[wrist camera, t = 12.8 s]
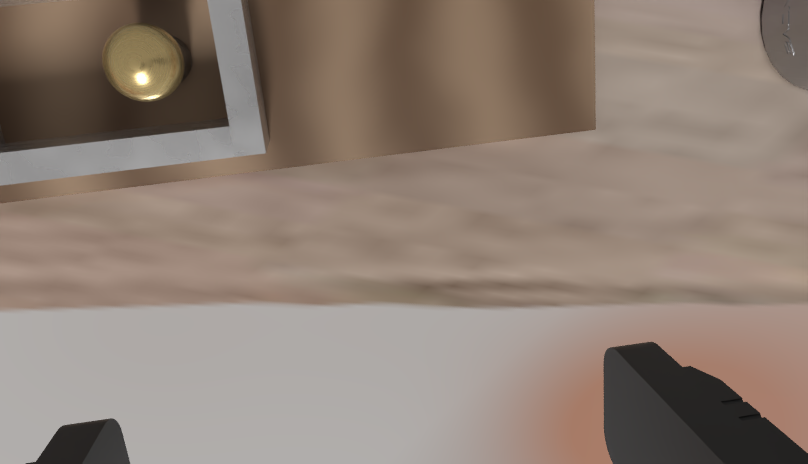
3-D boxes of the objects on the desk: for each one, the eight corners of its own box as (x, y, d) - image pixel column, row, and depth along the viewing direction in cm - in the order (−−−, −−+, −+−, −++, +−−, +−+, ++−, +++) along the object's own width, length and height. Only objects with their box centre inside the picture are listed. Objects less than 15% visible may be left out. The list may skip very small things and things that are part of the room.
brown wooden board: (583, -105, 34) (593, -110, 32) (586, 126, 37) (595, 129, 36) (-77, -52, 30) (-93, -56, 29) (-4, 199, 33) (-15, 205, 32)
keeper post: (194, 22, 31) (168, 17, 25) (206, 89, 32) (184, 100, 26) (125, 29, 31) (82, 25, 25) (140, 96, 32) (102, 109, 26)
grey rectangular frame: (240, -47, 31) (231, -60, 27) (270, 140, 33) (265, 153, 30) (-75, -20, 29) (-131, -30, 25) (-17, 175, 32) (-61, 192, 28)
